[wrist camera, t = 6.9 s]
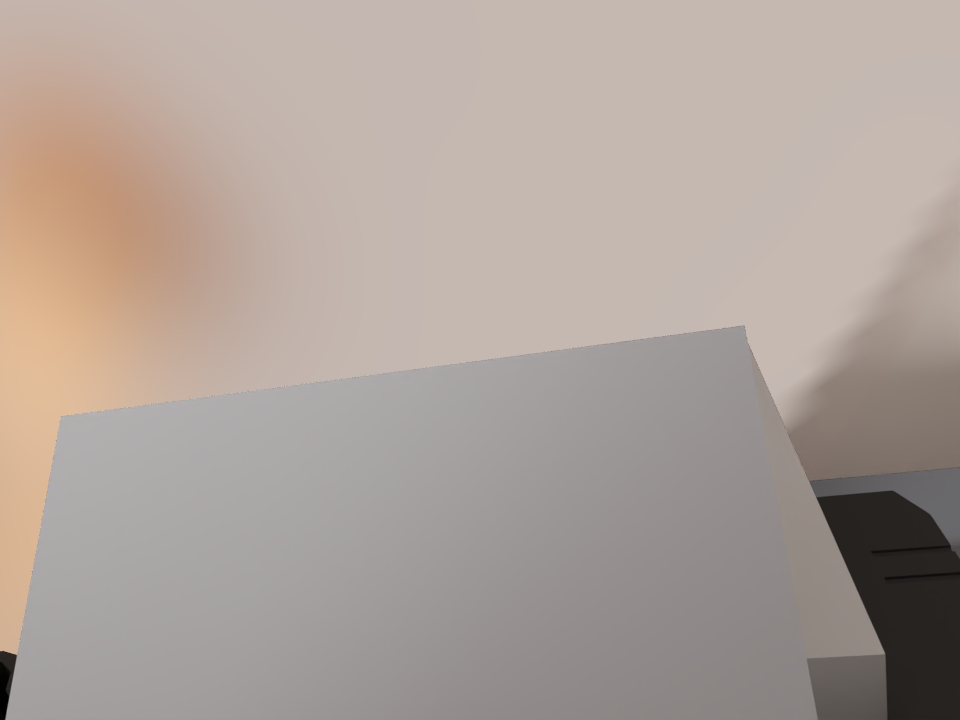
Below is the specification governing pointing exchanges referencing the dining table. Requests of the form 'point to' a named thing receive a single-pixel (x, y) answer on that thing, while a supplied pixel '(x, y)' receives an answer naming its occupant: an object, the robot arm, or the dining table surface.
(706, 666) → the block
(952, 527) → the power strip
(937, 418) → the dining table surface
